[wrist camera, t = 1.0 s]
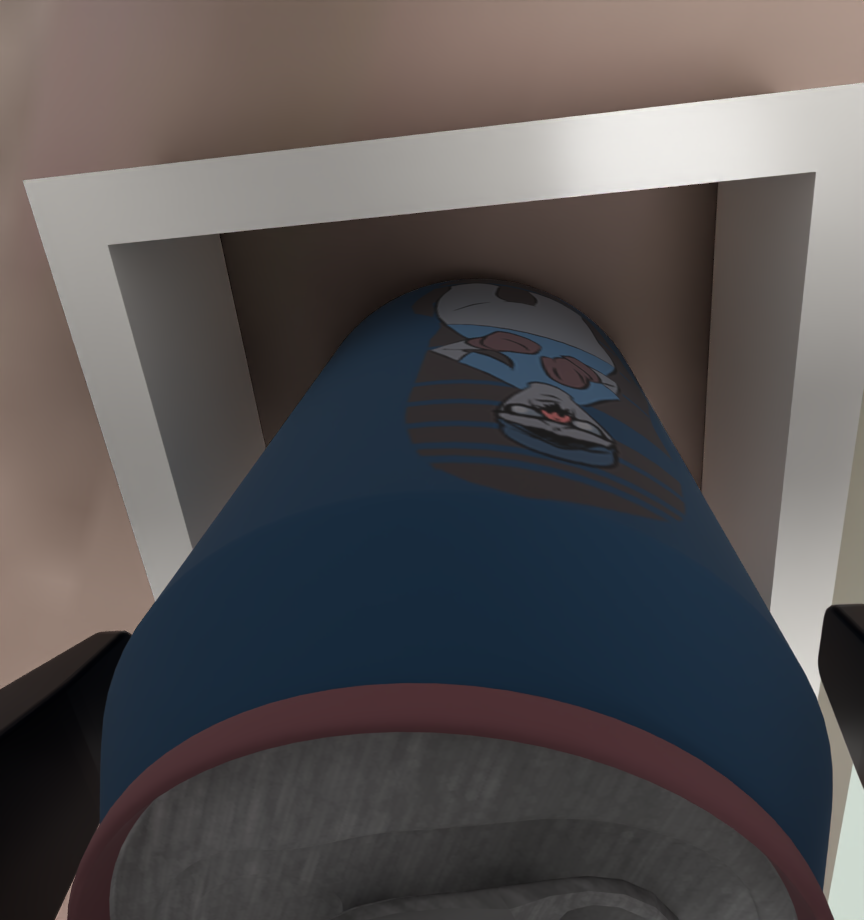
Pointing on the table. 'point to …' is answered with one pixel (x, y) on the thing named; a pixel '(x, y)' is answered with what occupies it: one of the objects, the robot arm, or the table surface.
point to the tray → (853, 808)
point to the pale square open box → (482, 184)
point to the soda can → (463, 660)
